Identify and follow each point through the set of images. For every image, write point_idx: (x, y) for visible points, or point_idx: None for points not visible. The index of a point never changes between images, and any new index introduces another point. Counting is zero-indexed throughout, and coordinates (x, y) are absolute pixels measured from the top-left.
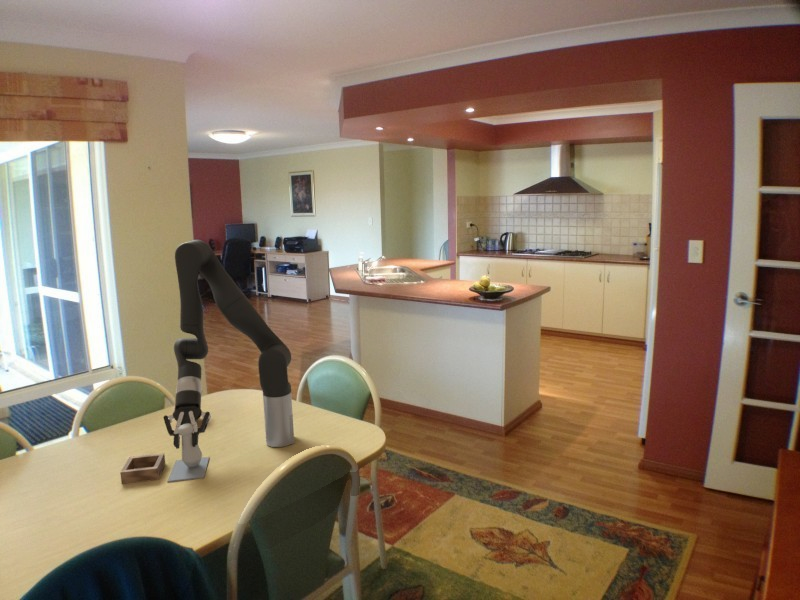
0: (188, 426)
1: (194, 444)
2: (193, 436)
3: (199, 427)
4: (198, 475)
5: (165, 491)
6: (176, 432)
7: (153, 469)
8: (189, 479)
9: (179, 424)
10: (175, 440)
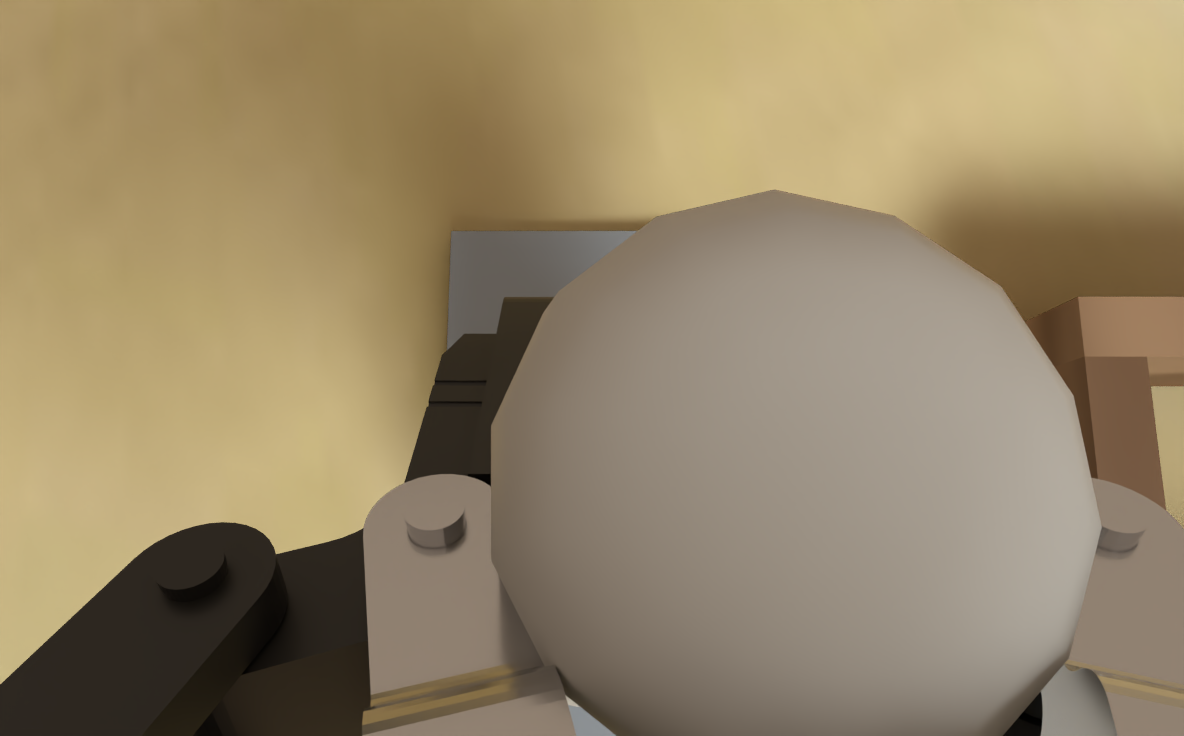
0: (648, 327)
1: (508, 299)
2: None
3: (293, 658)
4: (516, 276)
5: (833, 43)
6: None
7: (1124, 301)
8: (616, 236)
9: (1159, 729)
10: None
